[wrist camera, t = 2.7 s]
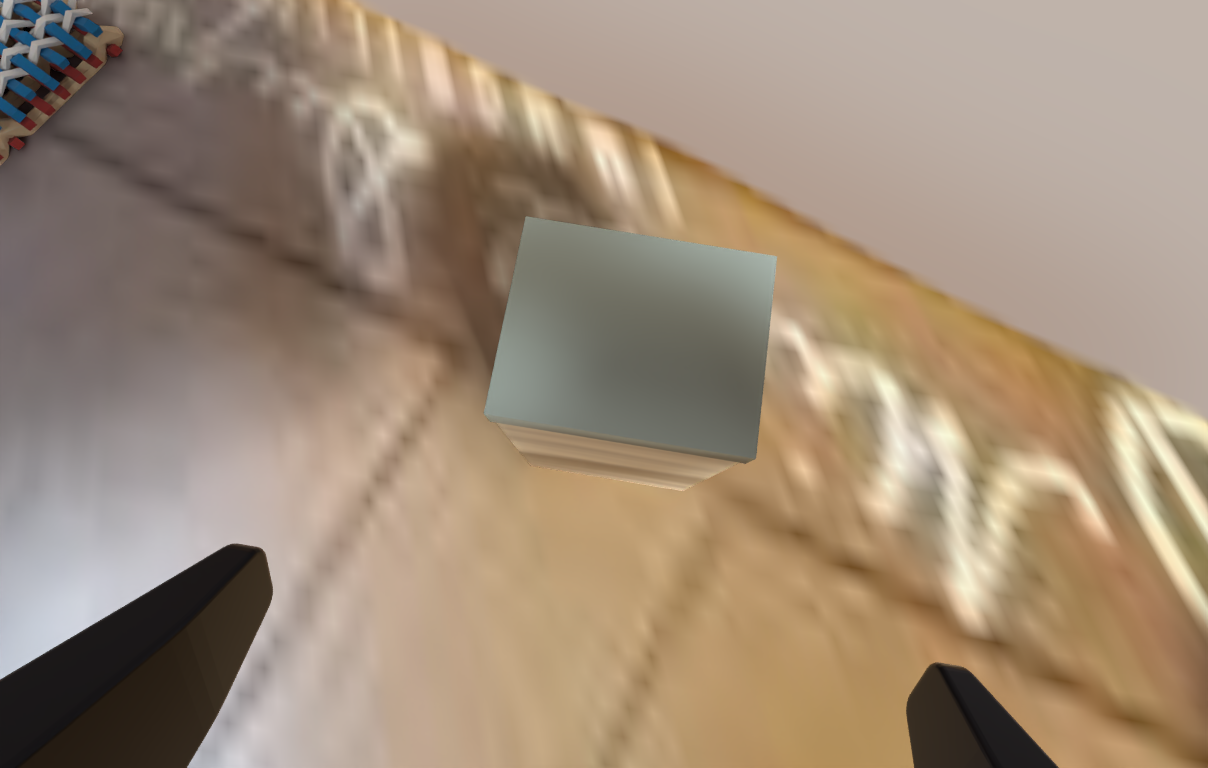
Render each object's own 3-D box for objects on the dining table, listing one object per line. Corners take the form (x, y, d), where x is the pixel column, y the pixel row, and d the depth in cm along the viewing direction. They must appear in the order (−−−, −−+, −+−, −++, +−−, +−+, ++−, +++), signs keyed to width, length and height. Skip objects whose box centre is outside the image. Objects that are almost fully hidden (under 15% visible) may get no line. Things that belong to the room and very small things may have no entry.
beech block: (684, 492, 20) (755, 458, 12) (528, 466, 20) (483, 413, 12) (699, 371, 21) (776, 256, 13) (551, 347, 21) (525, 216, 13)
